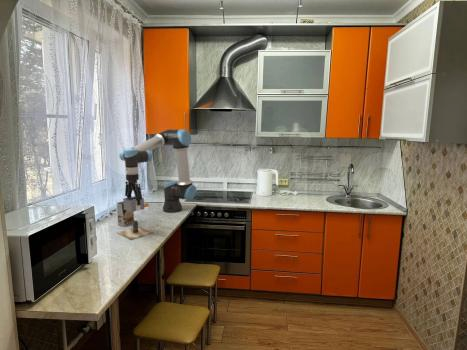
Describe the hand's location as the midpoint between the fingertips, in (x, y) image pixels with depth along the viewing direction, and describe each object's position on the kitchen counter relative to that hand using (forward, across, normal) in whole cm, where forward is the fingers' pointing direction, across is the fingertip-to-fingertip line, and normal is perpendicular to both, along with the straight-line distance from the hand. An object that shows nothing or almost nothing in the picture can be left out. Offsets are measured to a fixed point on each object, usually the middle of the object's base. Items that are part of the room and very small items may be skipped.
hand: (134, 208), depth 201 cm
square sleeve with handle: (0, 0, +3) cm, 3 cm away
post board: (+16, 0, 0) cm, 16 cm away
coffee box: (+17, -21, +5) cm, 27 cm away
